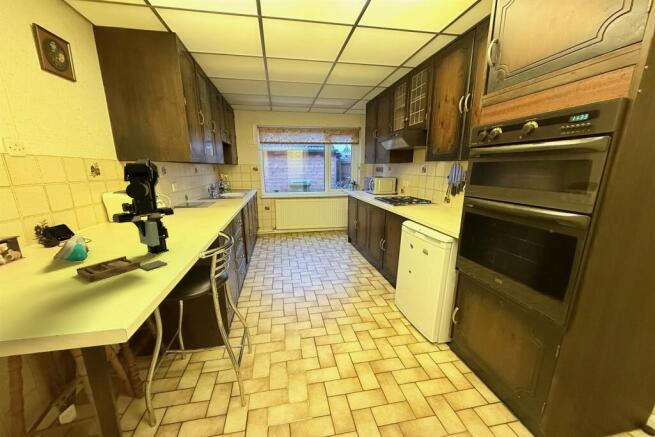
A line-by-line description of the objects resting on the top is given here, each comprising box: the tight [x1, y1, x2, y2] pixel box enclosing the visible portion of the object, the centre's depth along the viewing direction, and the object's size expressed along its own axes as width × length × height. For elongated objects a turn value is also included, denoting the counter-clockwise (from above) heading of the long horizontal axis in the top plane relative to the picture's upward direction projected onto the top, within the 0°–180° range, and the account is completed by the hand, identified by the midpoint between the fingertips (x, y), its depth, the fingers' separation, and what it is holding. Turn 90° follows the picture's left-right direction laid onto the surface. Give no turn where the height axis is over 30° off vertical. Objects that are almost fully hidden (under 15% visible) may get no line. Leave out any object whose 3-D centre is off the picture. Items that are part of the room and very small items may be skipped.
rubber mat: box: [139, 259, 168, 271], centre depth 100 cm, size 7×7×1 cm
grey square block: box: [137, 219, 160, 246], centre depth 97 cm, size 3×9×9 cm, turn 60°
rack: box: [76, 255, 141, 283], centre depth 95 cm, size 15×12×2 cm
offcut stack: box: [108, 261, 129, 268], centre depth 98 cm, size 5×8×2 cm, turn 60°
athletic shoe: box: [52, 234, 90, 263], centre depth 111 cm, size 27×9×12 cm
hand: (148, 235), depth 98 cm, fingers closed on grey square block, 3 cm apart
